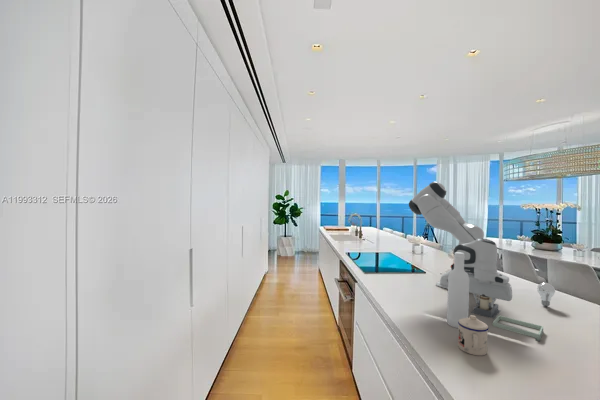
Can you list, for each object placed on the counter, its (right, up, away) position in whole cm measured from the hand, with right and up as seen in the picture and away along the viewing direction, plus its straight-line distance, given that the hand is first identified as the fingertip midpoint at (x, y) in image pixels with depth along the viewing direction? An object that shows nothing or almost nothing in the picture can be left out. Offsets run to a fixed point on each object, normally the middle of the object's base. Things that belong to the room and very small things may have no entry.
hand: (484, 305), depth 134 cm
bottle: (-18, -4, -11) cm, 22 cm away
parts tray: (+4, -5, -15) cm, 16 cm away
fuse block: (+2, -5, +2) cm, 6 cm away
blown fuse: (0, -4, 0) cm, 4 cm away
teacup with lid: (-25, -4, -33) cm, 41 cm away
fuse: (+5, -4, +5) cm, 8 cm away
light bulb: (+40, -6, +14) cm, 43 cm away
